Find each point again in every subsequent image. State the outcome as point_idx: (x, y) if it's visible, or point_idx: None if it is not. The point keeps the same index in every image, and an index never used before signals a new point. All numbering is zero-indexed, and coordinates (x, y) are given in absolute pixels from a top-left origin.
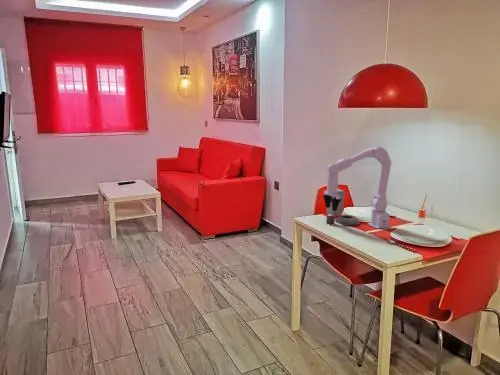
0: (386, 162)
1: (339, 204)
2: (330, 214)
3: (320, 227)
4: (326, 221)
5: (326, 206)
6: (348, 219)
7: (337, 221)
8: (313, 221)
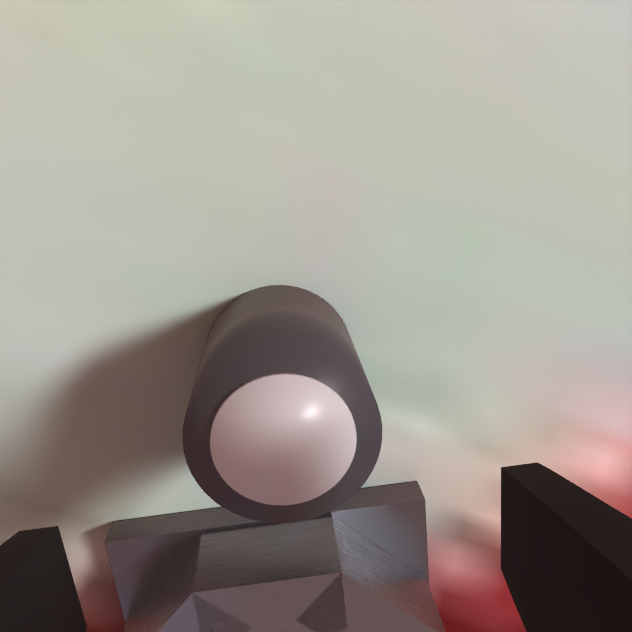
0: None
1: None
2: (330, 450)
3: (29, 54)
4: (299, 299)
5: (519, 492)
6: None
7: None
8: (495, 80)
